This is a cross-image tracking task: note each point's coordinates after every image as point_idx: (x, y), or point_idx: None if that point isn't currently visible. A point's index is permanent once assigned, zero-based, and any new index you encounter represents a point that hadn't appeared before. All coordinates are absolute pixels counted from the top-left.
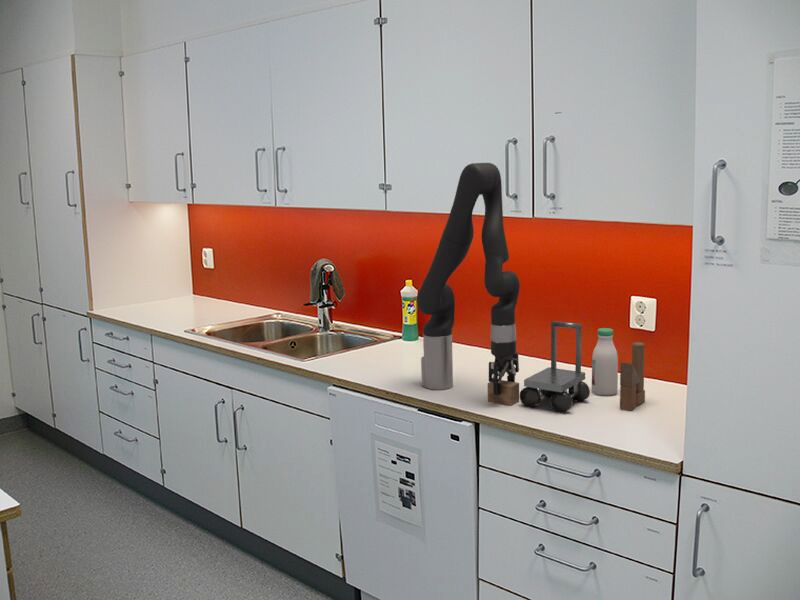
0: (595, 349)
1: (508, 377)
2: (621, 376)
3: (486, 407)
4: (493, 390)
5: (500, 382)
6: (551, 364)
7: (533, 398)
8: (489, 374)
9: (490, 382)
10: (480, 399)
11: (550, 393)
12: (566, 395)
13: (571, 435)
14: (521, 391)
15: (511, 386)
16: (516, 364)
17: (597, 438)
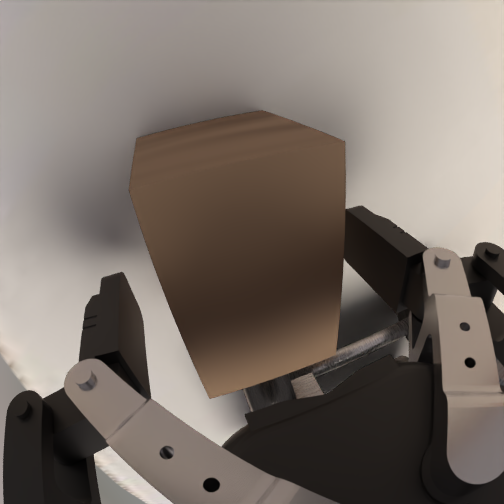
0: None
1: (395, 259)
2: None
3: (47, 228)
4: (84, 317)
5: (261, 272)
6: (501, 380)
7: (249, 405)
8: (12, 480)
9: (179, 196)
10: (148, 52)
11: (404, 313)
12: None
13: (135, 488)
14: (247, 392)
15: (222, 392)
16: (497, 357)
17: (166, 498)
